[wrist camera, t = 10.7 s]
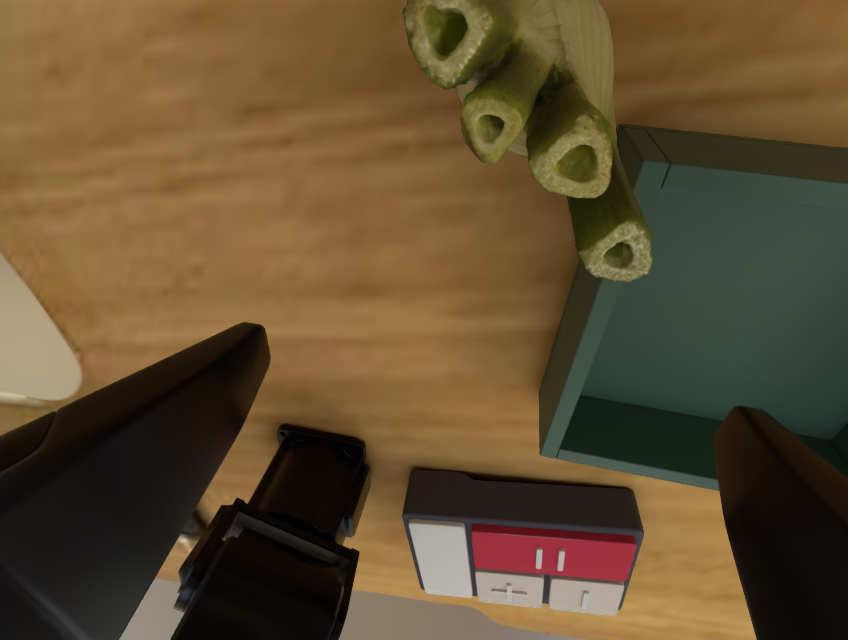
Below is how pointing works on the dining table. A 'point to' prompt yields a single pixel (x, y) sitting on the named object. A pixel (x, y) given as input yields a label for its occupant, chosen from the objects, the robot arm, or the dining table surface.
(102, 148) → the dining table surface
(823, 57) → the dining table surface
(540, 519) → the calculator
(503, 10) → the fennel bulb
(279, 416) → the dining table surface
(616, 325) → the tote
